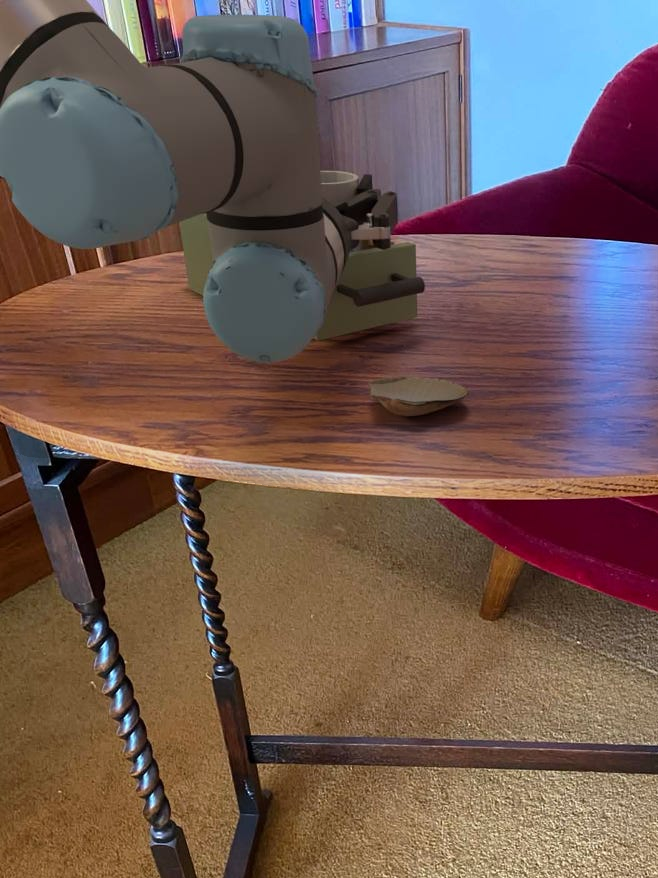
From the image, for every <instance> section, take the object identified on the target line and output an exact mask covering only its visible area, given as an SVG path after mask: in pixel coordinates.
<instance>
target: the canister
mask: <svg viewBox="0 0 658 878" xmlns="http://www.w3.org/2000/svg"><path fill="white" fill-rule="evenodd" d="M320 171H321V188H322V197H324V198H325V199H327V200H328V201H329V202H330V201H343V202H344V201H346V200H348V199H350V198H352V197H354V196H356V195H357V187H358V185H359V183H360V177H359V176H358V175H357V174H355V173H352V172H347V171H340V170H320ZM361 250H363V249H362V240H360V241H359V244H358V246H357V247H356V248H354V249H351V250H350V252H356V251H361Z"/></svg>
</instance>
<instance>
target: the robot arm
mask: <svg viewBox="0 0 658 878" xmlns="http://www.w3.org/2000/svg"><path fill="white" fill-rule="evenodd" d="M181 36H182V38H181V39H182V55H181V57H180V60H181V62H179V63H171V64H164V65H156V66H148V67H147V66H145V65H144V64H142V63H141V61H139V60H138V58H137V56H136V55H134V54H133V53H132V50H130V48H129V47H127V45H126V43H124V41H122V39H121V38H120V37H119V36H118V35H117V34H116V33H115V32H114V31H113V29H112V28H111V27H110V26H109V25H108V24H107V22H106V21H105V20H104V19H103V17H102V16H101V15H100V14H99V13H98V12H97V10H96V9H95V8H94V7H93V5H91V3H90V2H89V1H88V0H0V177H1V178H2V179H5V181H6V184H7V187H8V188H9V190H10V193H11V202H12V203H13V205H14V206H15V208H16V209H17V211H19V213H20V214H21V215H22V216H23V218H24V219H25V220H26V221H27V222H28V223H29V224H30V225H31V226H32V227H33V228H35V230H37V231H38V232H39V233H41V234H42V235H43V236H45V237H46V238H48V239H50V240H51V241H54V242H55V243H58V244H60V245H63V246H65V247H69V248H72V249H77V250H95V249H100V248H104V247H110V246H115V245H120V244H124V243H131V242H139V241H141V240H144V239H145V240H146V239H149V238H151V237H153V236H154V235H155V234H157V233H158V232H159V231H162V230H163V229H166V228H168V227H171V226H173V225H175V224H179V222H181V221H183V220H186V219H189V218H191V217H194V216H197V215H199V214H205V213H206V215H207V220H208V228H209V236H210V243H211V250H212V257H213V266H212V267H211V268H210V271H209V272H208V278H207V281H206V284H205V287H204V293H203V296H202V301H203V310H204V314H205V319H206V321H207V323H208V325H209V327H210V329H211V330H212V332H213V334H214V335H215V337H216V338H217V339H218V341H219V342H220V343H221V344H222V345H224V346H225V347H226V348H227V349H228V350H229V351H231V352H232V353H234V354H235V355H236V356H239V357H241V358H242V359H246V360H248V361H251V362H256V363H262V364H273V363H280V362H284V361H287V360H289V359H292V358H294V357H295V356H298V355H299V354H300V353H301V352H302V351H304V349H306V347H308V345H309V344H310V342H311V341H312V340H314V339H313V338H314V337H315V336H316V335H317V331H319V330H320V329H321V326H322V325H323V323H324V318H325V317H326V314H327V308H328V305H329V302H330V299H331V297H332V294H333V292H334V290H335V288H336V286H337V283H338V281H339V278H340V276H341V274H342V272H343V270H344V267H345V265H346V263H347V260H348V257H349V253H350V250H351V249H354V248H356V247H357V246H358V244H359V241H360V240H368V244H369V245H375V246H376V248H379V249H381V250H386V249H388V248H391V243H390V241H391V235H392V233H393V232H394V230H395V229H396V228H397V226H398V223H399V214H398V213H399V209H398V193H397V192H396V191H392V190H391V191H387V192H384V193H382V189H379V188H373V174H368V173H367V174H365V173H364V174H363V175H362V178H361V179H360V180H359V185H358V187H357V195H356V196H354V197H352V198H350V199H348V200H346V201H344V202H343V201H330V202H329V201H328V200H327V199H325V198H324V197H322V188H321V171H322V170H321V159H320V158H321V157H320V142H319V123H318V122H319V121H318V108H317V107H318V106H317V98H318V88H317V87H316V85H315V79H314V72H313V65H312V56H311V55H312V54H311V47H310V41H309V35H308V34H307V31H306V30H305V28H304V26H303V25H302V24H301V23H300V22H298V21H297V20H296V19H294V18H291V17H287V16H281V15H270V14H203V15H195V16H193V17H191V18H189V19H187V20H186V21H185V23H184V25H183V27H182V29H181Z"/></svg>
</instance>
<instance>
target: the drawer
mask: <svg viewBox="0 0 658 878" xmlns="http://www.w3.org/2000/svg"><path fill="white" fill-rule="evenodd" d="M390 243H391V248H388V249H386V250H381V249H379V248H376V246H375V245H369V244H368V240H362V249H363V250H361V251H356V252H350V253H349V257H348V260H347V263H346V265H345V267H344V270H343V272H342V274H341V276H340V278H339V281H338V283H337V286H336V288H335V290H334V292H333V294H332V297H331V299H330V302H329V305H328V308H327V314H326V317H325V318H324V323H323V325H322V326H321V329H320V330H319V331H317V335H316V336H315V337H314V338H313V339H312V340H315V341H316V342H319V341H323V340H327V339H328V340H329V339H332V338H336V337H340V336H344V335H348V334H353V333H357V332H361V331H366V330H370V329H373V328H378V327H382V326H386V325H390V324H391V325H392V324H395V323H400V322H403V321H407V320H412V319H416V318H418V294H423V293H424V292H425V290H426V285H425V281H424V279H423V278H422V277H421V276H417V244H416V243H413V242H410V241H405V242H399V243H395V242H394V241H392V240H390Z"/></svg>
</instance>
